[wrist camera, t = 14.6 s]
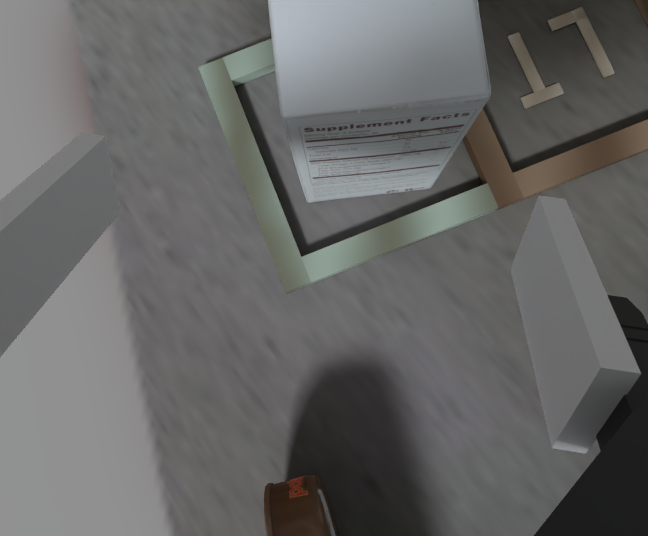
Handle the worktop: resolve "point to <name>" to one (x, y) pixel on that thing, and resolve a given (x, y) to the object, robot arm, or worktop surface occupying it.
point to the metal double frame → (434, 219)
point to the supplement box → (376, 90)
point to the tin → (298, 508)
